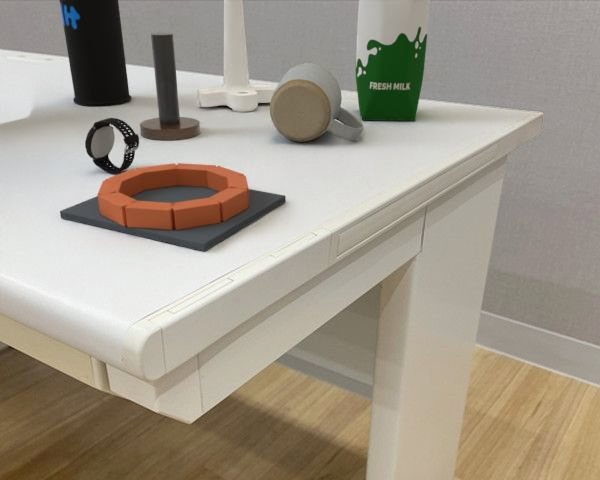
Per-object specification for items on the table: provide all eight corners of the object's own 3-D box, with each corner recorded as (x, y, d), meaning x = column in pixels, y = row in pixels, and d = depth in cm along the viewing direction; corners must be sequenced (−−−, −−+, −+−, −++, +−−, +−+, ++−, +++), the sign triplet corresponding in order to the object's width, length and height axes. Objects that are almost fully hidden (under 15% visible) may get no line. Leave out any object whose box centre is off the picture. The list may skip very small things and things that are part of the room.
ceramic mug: (266, 143, 72) (266, 71, 68) (279, 126, 79) (279, 61, 75) (360, 148, 70) (365, 76, 67) (364, 131, 78) (369, 65, 74)
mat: (60, 218, 51) (59, 211, 50) (156, 178, 60) (156, 172, 60) (204, 251, 45) (203, 243, 45) (285, 202, 54) (285, 195, 54)
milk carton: (414, 108, 89) (428, -54, 80) (423, 123, 81) (440, -56, 72) (351, 107, 90) (358, -55, 80) (354, 122, 82) (363, -57, 72)
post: (128, 135, 75) (116, 35, 69) (166, 124, 80) (157, 29, 75) (176, 143, 72) (167, 38, 67) (211, 130, 77) (206, 32, 72)
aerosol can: (130, 94, 98) (113, -55, 88) (132, 104, 91) (113, -56, 81) (74, 96, 96) (50, -56, 86) (72, 107, 89) (45, -57, 79)
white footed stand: (269, 99, 94) (267, -54, 85) (285, 109, 88) (285, -56, 79) (195, 104, 91) (184, -55, 82) (207, 114, 85) (196, -57, 75)
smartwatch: (120, 162, 65) (113, 112, 62) (147, 173, 61) (141, 121, 59) (82, 170, 62) (74, 118, 60) (108, 182, 59) (100, 128, 56)
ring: (67, 213, 50) (64, 194, 49) (166, 173, 60) (164, 156, 59) (189, 241, 45) (188, 220, 44) (275, 192, 55) (274, 174, 54)
